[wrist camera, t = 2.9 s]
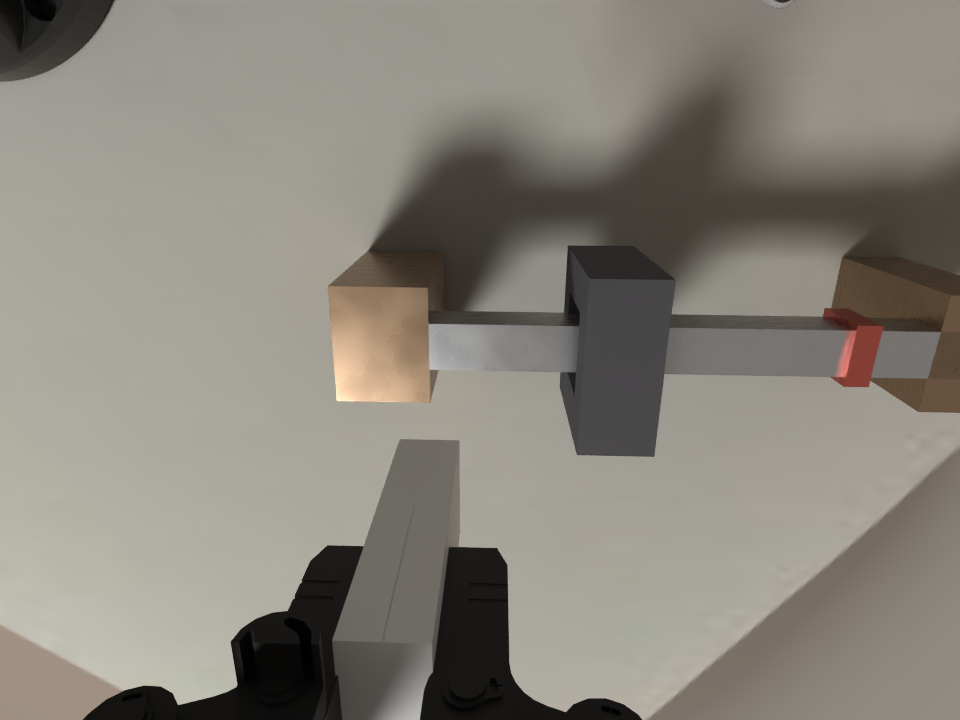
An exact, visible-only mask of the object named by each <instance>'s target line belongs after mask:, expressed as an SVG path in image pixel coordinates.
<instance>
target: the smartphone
mask: <svg viewBox="0 0 960 720" xmlns="http://www.w3.org/2000/svg"><path fill="white" fill-rule="evenodd" d="M760 1H761V2H763V3H765V4H766V5H768V6H770V7H772V8H784V7H787V6H788V5H790V4H791V3H792V2H793V1H794V0H760Z"/></svg>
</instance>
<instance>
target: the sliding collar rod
mask: <svg viewBox="0 0 960 720" xmlns="http://www.w3.org/2000/svg"><path fill="white" fill-rule="evenodd" d="M328 294H329V307H330V320H331V332H332V345H333V358H334V370H335V383H336V396H337V401H372V402H425V403H430V401H431V397H432V393H433V389H434V386H435V382H436V378H437V374H438V370H471V371H527V372H576V366H577V352H578V337H579V322H580V313H549V312H485V311H445V276H444V252H400V251H367V252H366V253H365V254H364V255H363V256H362V257H361V258H359V259H358V260H357V261H356V262H355V263H354V264H353V265H351V266H350V267H349V268H348V269H347V270H346V271H345V272H343V273H342V274H341V275H340V276H339V277H338V278H337V279H336V280H334V281H333V282H332V283H331V284H330V285H329V286H328ZM664 374H695V375H751V376H808V377H831V378H833V379H834V380H835V381H837V382H838V383H839V384H841V385H842V386H844V387H869V383H870V381H872V382H873V383H875V384H877V385H878V386H880V387H881V388H883V389H884V390H886V391H887V392H889V393H890V394H892V395H893V396H895V397H896V398H898V399H900V400H901V401H903V402H904V403H906V404H907V405H909V406H910V407H912V408H913V409H915V410H916V411H918V412H951V413H960V276H959V275H956V274H952V273H949V272H946V271H942V270H939V269H936V268H932V267H929V266H926V265H922V264H919V263H916V262H912V261H909V260H906V259H902V258H845V257H842V262H841V266H840V271H839V276H838V280H837V285H836V290H835V294H834V299H833V304H832V308H825V309H824V314H823V317H805V316H741V315H677V314H671V322H670V330H669V338H668V346H667V355H666V363H665V371H664Z"/></svg>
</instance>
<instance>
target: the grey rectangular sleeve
mask: <svg viewBox="0 0 960 720" xmlns="http://www.w3.org/2000/svg"><path fill="white" fill-rule="evenodd" d="M674 288H675V279H674V278H672V277H671V276H670V275H669V274H667V273H666V272H665V271H664V270H662V269H661V268H660V267H659V266H657V265H656V264H655V263H654V262H652V261H651V260H650V259H649V258H647V257H646V256H645V255H644V254H642V253H641V252H640V251H639V250H637V249H636V248H635V247H634V246H568V255H567V272H566V289H565V306H564V313H580V322H579V337H578V352H577V366H576V372H561V375H560V389H561V393H562V397H563V401H564V405H565V409H566V413H567V417H568V421H569V425H570V429H571V433H572V437H573V441H574V445H575V449H576V453H577V455H599V456H647V457H654V454H655V446H656V437H657V429H658V421H659V412H660V404H661V396H662V388H663V379H664V371H665V363H666V355H667V346H668V338H669V330H670V322H671V313H672V305H673V297H674Z"/></svg>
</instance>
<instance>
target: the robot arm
mask: <svg viewBox="0 0 960 720" xmlns="http://www.w3.org/2000/svg"><path fill="white" fill-rule="evenodd" d="M111 1H112V0H0V82H2V81H14V80H21V79H25V78H30V77H33V76H36V75H39V74H42V73H44V72H47V71H49V70H51V69H53V68H55V67H57V66H59V65H60V64H62V63H63V62H65V61H66V60H68V59H69V58H70V57H72V56H73V55H74V54H75V53H76V52H78V51H79V50H80V49H81V48H82V47H83V46H84V45H85V44H86V42H87V41H88V40H89V39H90V38H91V36H92V35H93V34H94V32H95V31H96V29H97V28H98V27H99V25H100V23H101V21H102V20H103V18H104V16H105V14H106V12H107V10H108V8H109V6H110V3H111ZM459 534H460V482H459V441H455V440H409V439H400V440H399V443H398V446H397V449H396V452H395V455H394V458H393V461H392V464H391V467H390V470H389V473H388V476H387V479H386V482H385V485H384V488H383V491H382V494H381V497H380V500H379V503H378V506H377V509H376V512H375V515H374V518H373V521H372V524H371V527H370V530H369V533H368V535H367V538H366V541H365V544H364V546H329V545H327V546H326V547H325V548H324V549H323V550H322V551H321V552H320V553H319V554H318V555H317V556H316V557H314V558H313V559H312V560H311V561H310V563H309V565H308V568H307V570H306V572H305V574H304V576H303V579H302V583H301V584H300V585H299V588H298V590H297V592H296V594H295V599H293V601H292V603H291V605H290V607H289V610H288V611H284V612H275V613H271V614H268V615H265V616H263V617H260V618H257V619H255V620H253V621H252V622H251V623H249V624H248V625H246V626H245V627H243V628H242V629H241V630H240V631H239V632H238V633H237V635H236V636H235V637H234V639H233V640H232V641H231V647H232V653H233V659H234V665H235V671H236V677H237V683H238V685H237V687H236V688H234V689H232V690H230V691H228V692H226V693H223V694H220V695H217V696H214V697H210V698H206V699H202V700H198V701H194V702H190V703H186V704H182V705H178V704H177V702H176V700H175V698H174V696H173V693H171V692H169V691H167V690H166V689H164V688H162V687H157V686H141V687H137V688H133V689H128V690H125V691H123V692H121V693H119V694H117V695H115V696H113V697H111V698H109V699H107V700H105V701H104V702H103V703H101V704H100V705H99V706H98V707H97V708H95V709H94V710H93V711H91V712H90V713H89V714H88V715H87V716H86V717H85V718H84V719H83V720H642V719H641V718H640V716H639V715H638V714H636V713H635V712H633V711H632V710H631V709H629V708H628V707H626V706H625V705H624V704H621V703H618V702H615V701H612V700H609V699H586V700H583V701H581V702H578V703H576V704H573V706H572V707H571V708H570V709H569V710H568V711H567V712H563V711H560V710H557V709H554V708H551V707H549V706H546V705H544V704H542V703H539V702H537V701H535V700H533V699H532V698H531V697H529V696H528V695H527V694H525V693H524V692H523V691H522V690H521V689H520V687H519V686H518V685H517V684H516V682H515V680H514V678H513V676H512V674H511V671H510V665H509V627H508V573H507V564H506V562H505V560H504V559H503V557H502V556H501V554H500V552H499V551H498V549H497V548H468V547H458V544H459Z"/></svg>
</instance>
